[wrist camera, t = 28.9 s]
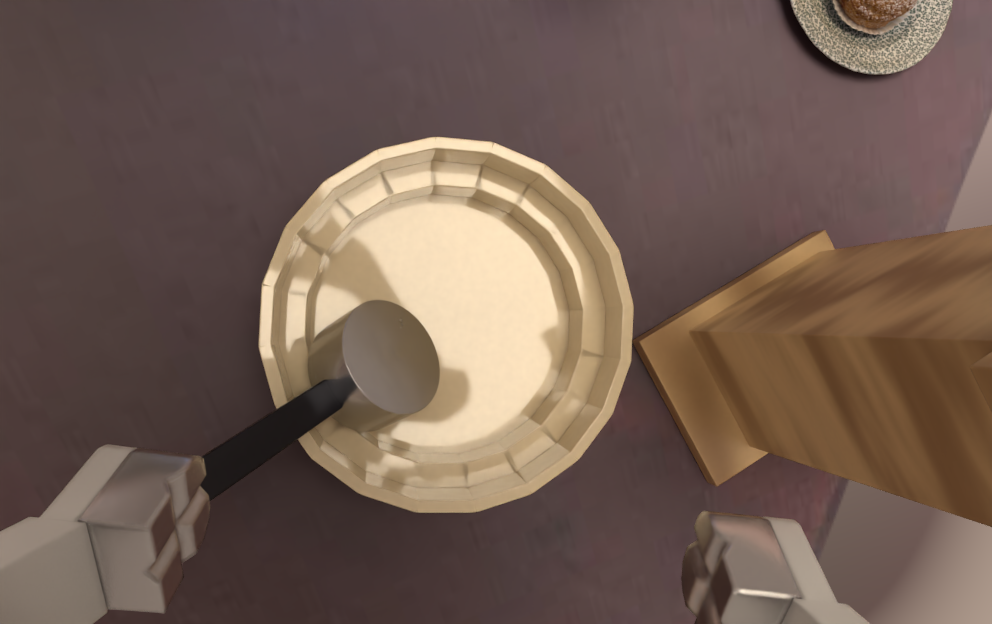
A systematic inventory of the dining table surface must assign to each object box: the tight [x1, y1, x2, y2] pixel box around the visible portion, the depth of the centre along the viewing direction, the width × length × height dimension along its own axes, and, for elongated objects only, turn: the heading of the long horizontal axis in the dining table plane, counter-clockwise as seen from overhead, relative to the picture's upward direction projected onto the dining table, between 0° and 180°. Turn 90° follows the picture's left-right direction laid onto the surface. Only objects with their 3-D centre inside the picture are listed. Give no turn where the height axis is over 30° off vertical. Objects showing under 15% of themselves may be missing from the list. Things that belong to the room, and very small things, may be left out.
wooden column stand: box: [632, 225, 992, 527], centre depth 30 cm, size 14×10×25 cm
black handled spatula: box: [200, 300, 440, 501], centre depth 28 cm, size 22×6×3 cm
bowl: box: [258, 136, 634, 513], centre depth 36 cm, size 18×18×6 cm
